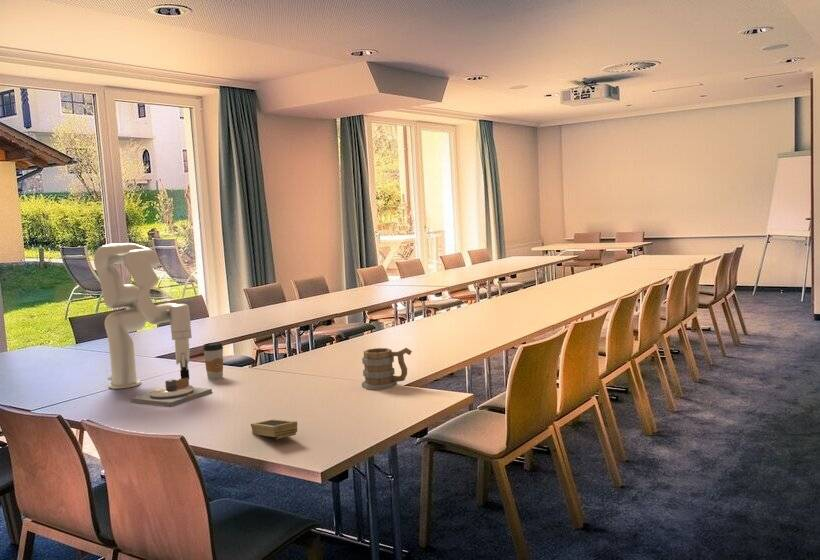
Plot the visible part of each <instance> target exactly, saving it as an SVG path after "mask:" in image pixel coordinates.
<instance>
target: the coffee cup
mask: <svg viewBox="0 0 820 560" xmlns="http://www.w3.org/2000/svg"><path fill="white" fill-rule="evenodd" d="M223 349H224V345H223V344H222V342H217V341H216V342H209V343H205V344H204V345H203V350H202V351H203V355H204V362H205V364H204V365H205V369H206V376H207V379H208V380H211V381H215V380H222V378H223V376H224V358H223V357H224V352H223V351H224V350H223Z"/></svg>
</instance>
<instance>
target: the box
mask: <svg viewBox="0 0 820 560" xmlns="http://www.w3.org/2000/svg"><path fill="white" fill-rule="evenodd" d="M250 427H251V432H252V433H251V434H253V435H256V436H257V435H259V436H265V437H270V438H271V437H272V438H274V439H275V441H276V440H280V439H283V438H287V437H293V436H295V435H297V433H298V421H296V420H295V421H294V420H287V419H275V418H274V419H267V420H264V421H258V422H253V423H250Z"/></svg>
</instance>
